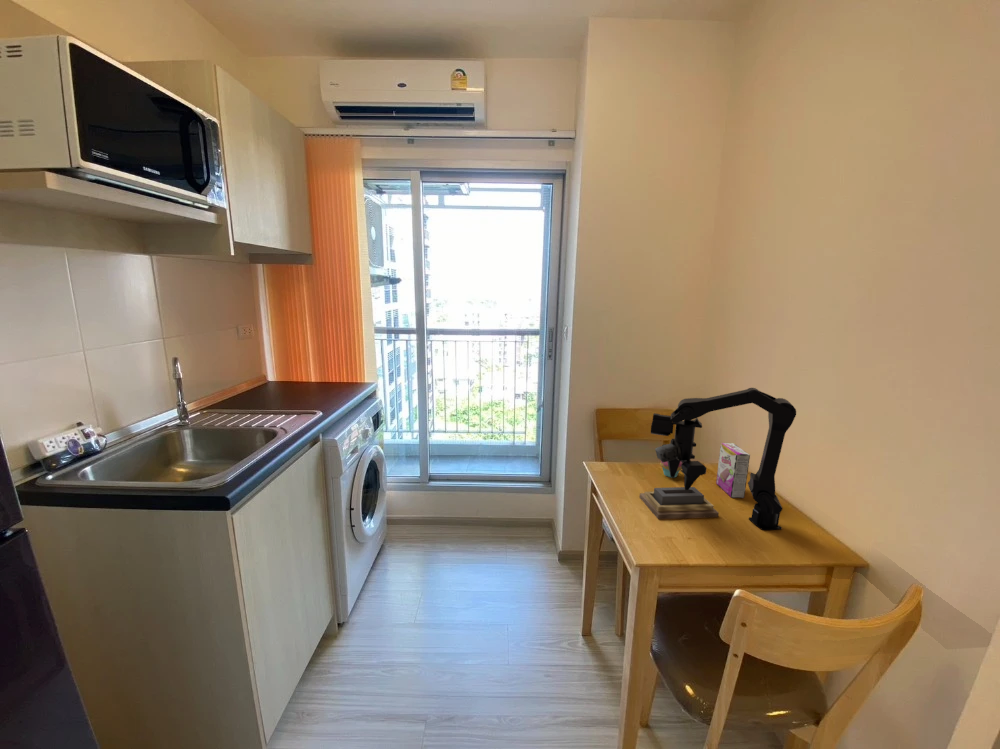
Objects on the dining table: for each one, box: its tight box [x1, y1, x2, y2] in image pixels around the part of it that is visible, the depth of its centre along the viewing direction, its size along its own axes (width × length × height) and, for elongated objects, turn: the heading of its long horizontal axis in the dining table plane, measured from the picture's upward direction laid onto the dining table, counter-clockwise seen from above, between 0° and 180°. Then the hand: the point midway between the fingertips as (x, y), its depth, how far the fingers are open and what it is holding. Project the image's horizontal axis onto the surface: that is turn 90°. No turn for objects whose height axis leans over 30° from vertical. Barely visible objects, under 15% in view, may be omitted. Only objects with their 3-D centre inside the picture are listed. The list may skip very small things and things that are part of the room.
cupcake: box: [659, 460, 682, 478], centre depth 161 cm, size 9×8×12 cm
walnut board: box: [639, 491, 720, 520], centre depth 137 cm, size 20×14×3 cm
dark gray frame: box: [653, 486, 705, 505], centre depth 137 cm, size 14×6×4 cm, turn 94°
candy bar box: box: [715, 442, 751, 499], centre depth 148 cm, size 11×5×16 cm, turn 179°
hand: (679, 483), depth 136 cm, fingers open, 9 cm apart
